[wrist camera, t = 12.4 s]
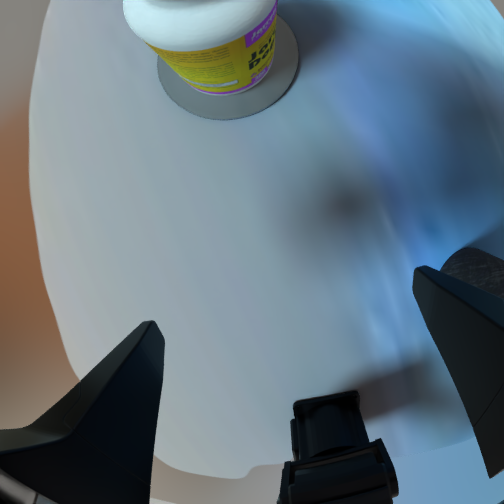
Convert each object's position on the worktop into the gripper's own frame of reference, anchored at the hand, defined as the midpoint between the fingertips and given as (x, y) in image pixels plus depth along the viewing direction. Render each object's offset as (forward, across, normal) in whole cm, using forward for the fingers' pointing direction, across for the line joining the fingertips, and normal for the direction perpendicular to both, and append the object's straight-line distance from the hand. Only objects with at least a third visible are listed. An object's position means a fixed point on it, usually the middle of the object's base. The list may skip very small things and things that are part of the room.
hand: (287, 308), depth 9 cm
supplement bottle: (+14, 0, -10) cm, 17 cm away
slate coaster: (+15, 0, -10) cm, 18 cm away
